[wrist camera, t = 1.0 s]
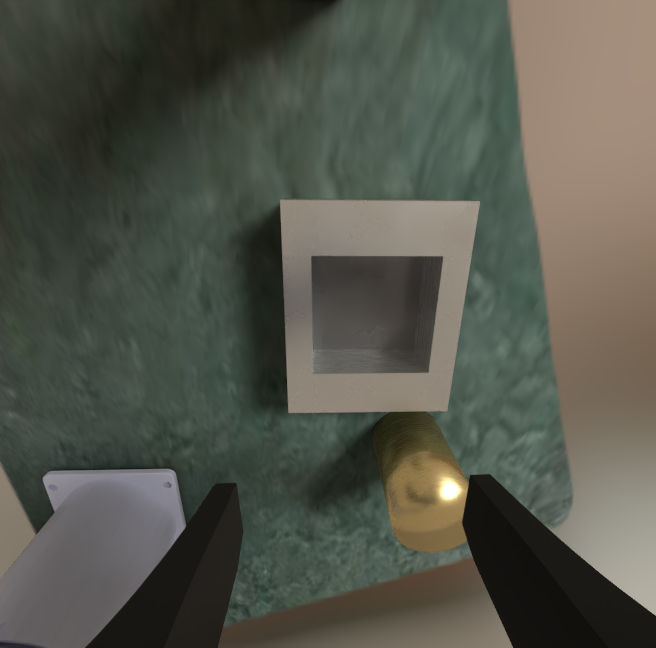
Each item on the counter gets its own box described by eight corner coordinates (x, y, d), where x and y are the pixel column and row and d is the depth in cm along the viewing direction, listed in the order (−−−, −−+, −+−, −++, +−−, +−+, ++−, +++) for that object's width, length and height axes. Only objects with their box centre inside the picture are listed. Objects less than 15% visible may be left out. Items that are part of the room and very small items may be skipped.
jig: (428, 380, 20) (446, 411, 17) (292, 382, 20) (288, 413, 17) (452, 199, 17) (480, 201, 14) (286, 198, 16) (280, 199, 14)
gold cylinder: (434, 461, 22) (474, 551, 17) (370, 462, 22) (389, 553, 17) (443, 407, 21) (489, 486, 15) (374, 408, 21) (395, 487, 15)
